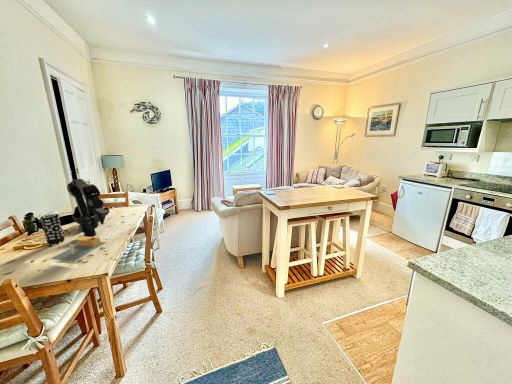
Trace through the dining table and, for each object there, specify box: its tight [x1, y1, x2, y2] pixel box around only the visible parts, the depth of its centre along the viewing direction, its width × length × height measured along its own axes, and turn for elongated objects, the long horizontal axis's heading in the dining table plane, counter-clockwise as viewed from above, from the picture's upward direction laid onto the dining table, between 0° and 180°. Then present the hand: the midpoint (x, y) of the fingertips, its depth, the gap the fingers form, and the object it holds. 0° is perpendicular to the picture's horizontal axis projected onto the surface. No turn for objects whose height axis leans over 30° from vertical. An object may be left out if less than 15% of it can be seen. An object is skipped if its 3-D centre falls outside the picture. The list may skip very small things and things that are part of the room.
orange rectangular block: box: [76, 235, 102, 247], centre depth 135 cm, size 12×5×4 cm, turn 81°
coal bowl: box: [72, 206, 103, 225], centre depth 167 cm, size 20×20×19 cm
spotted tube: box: [39, 213, 66, 248], centre depth 136 cm, size 8×8×20 cm
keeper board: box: [50, 241, 107, 262], centre depth 128 cm, size 16×22×9 cm
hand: (96, 227), depth 137 cm, fingers open, 9 cm apart
